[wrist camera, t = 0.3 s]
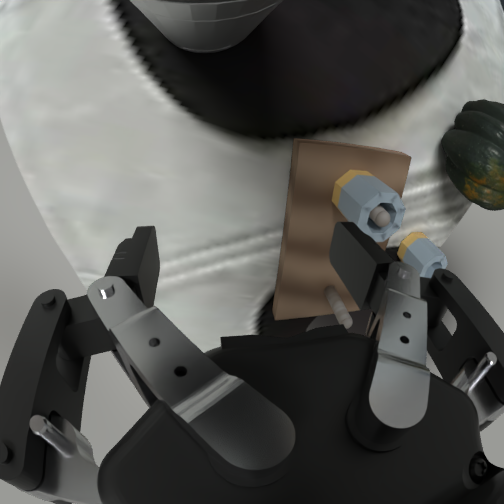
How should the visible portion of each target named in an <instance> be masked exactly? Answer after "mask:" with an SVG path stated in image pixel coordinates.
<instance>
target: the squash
mask: <svg viewBox="0 0 504 504" xmlns="http://www.w3.org/2000/svg"><path fill="white" fill-rule="evenodd" d="M455 128H456V129H452V130H450V131H448V132H446V133H445V135H444V137H443V139H442V146H443V148H444V150H445V152H446V154H447V155H448V156H447V160H446V170H447V173H448V175H449V177H450V179H451V181H452V182H453V183H454V185H455V186H456V188H457V189H458V190H459V191H460V192H461V193H462V194H463V195H464V196H465V197H466V198H467V199H468V200H470V201H471V202H473V203H475V204H477V205H479V206H480V207H482V208H484V209H487V210H494V211H495V210H502V209H504V104H501V103H498V102H492V101H487V100H484V99H483V100H478V101H469V102H467V103H466V104H465V105H464V106H463V109H462V111H461V113H459V114H458V115H457V116H456V119H455Z"/></svg>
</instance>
